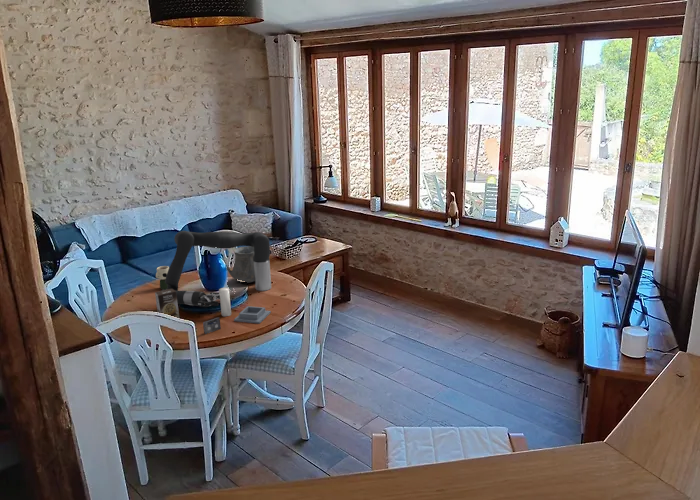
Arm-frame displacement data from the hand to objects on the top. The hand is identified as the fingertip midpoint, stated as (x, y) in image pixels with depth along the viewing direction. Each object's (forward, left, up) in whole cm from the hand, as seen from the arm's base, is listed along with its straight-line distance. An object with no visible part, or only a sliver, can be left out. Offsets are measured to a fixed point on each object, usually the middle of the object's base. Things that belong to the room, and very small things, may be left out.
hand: (222, 300), depth 283 cm
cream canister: (0, +2, -8) cm, 8 cm away
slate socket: (0, +17, -8) cm, 18 cm away
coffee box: (+14, -23, -8) cm, 28 cm away
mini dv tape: (+20, +5, -8) cm, 22 cm away
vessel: (-52, -10, -8) cm, 53 cm away
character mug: (-28, -53, -8) cm, 61 cm away
